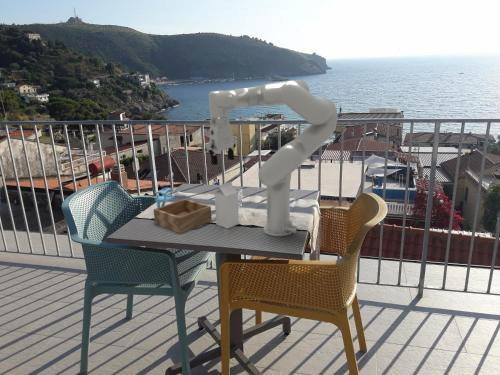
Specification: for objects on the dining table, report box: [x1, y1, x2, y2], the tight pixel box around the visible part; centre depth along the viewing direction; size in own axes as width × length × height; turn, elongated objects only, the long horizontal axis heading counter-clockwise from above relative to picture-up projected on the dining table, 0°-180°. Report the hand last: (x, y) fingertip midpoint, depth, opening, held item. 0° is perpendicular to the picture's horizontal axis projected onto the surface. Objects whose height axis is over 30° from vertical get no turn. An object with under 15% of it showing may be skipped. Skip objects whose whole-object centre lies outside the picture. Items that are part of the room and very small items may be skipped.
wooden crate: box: [153, 198, 213, 235], centre depth 172 cm, size 18×18×7 cm
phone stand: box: [154, 187, 175, 208], centre depth 185 cm, size 8×8×12 cm
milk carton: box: [214, 181, 240, 229], centre depth 166 cm, size 7×7×19 cm
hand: (223, 162), depth 162 cm, fingers open, 9 cm apart
